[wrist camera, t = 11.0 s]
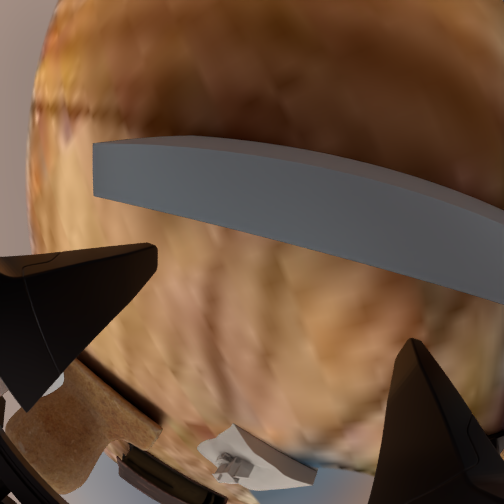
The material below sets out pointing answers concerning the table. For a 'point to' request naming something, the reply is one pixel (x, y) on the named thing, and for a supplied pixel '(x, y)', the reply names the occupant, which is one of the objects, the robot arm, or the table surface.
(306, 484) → the miniature house
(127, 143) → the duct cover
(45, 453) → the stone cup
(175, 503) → the diary
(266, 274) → the table surface
